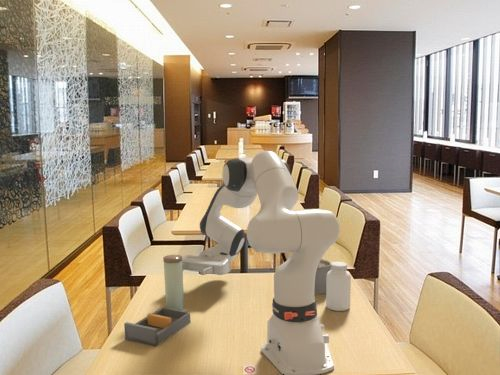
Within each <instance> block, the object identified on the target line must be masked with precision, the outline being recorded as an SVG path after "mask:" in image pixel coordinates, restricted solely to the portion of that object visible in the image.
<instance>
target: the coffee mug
mask: <svg viewBox="0 0 500 375" xmlns="http://www.w3.org/2000/svg"><path fill="white" fill-rule="evenodd" d="M331 263H332V262H331V261H329V260H327V259H322V258H321V260H320V262H319V264H318V267H317V270H316V275H315V289H314V295H325V294H326V275H327V273H328V271H330V270H331Z"/></svg>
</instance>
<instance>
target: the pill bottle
mask: <svg viewBox="0 0 500 375" xmlns="http://www.w3.org/2000/svg"><path fill="white" fill-rule="evenodd" d="M330 263H331V270H330V271H328V273H327V275H326V295H325V296H326V297H325V299H326V300H325V305H326V308H327V309H328V310H332V311H334V312H335V311H336V312H344V311H347V310H350V309H351V286H352V285H351V284H352V283H351V282H352V279H351V278H352V275H351V273H350V272H349V271H348V270H347V269H348V263H346V262H344V261H332V262H330Z"/></svg>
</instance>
